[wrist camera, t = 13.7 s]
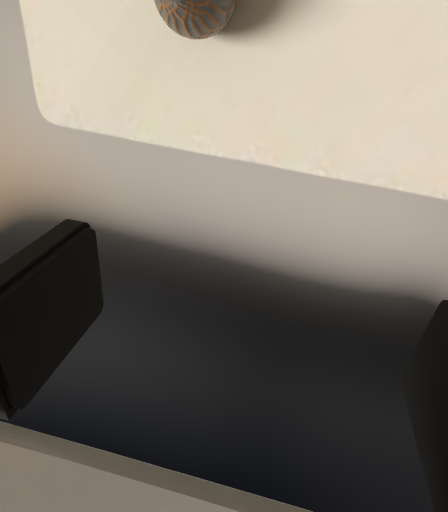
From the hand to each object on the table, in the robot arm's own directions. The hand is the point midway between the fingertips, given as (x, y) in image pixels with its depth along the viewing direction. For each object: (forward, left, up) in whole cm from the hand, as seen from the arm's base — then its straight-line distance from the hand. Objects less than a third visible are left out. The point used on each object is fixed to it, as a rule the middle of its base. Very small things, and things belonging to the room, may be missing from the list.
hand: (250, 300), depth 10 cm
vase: (+10, -9, -32) cm, 34 cm away
